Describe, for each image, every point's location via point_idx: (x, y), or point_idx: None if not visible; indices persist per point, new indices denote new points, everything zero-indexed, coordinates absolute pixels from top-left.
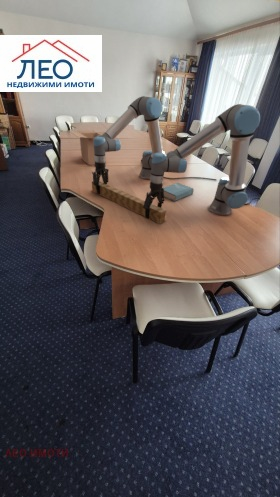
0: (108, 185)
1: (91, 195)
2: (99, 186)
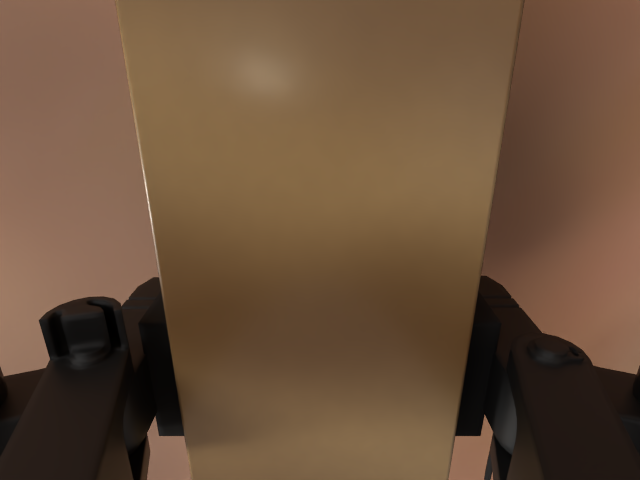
0: (155, 37)
1: (540, 292)
2: None
